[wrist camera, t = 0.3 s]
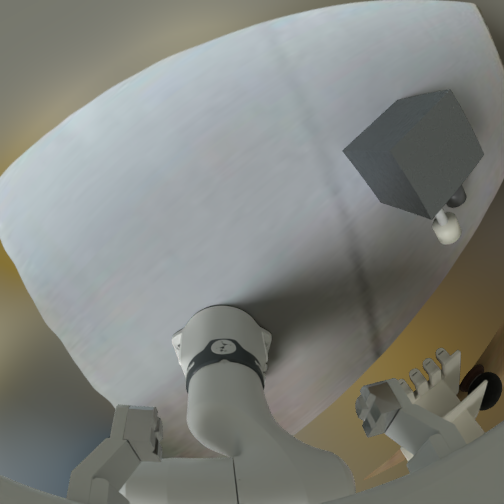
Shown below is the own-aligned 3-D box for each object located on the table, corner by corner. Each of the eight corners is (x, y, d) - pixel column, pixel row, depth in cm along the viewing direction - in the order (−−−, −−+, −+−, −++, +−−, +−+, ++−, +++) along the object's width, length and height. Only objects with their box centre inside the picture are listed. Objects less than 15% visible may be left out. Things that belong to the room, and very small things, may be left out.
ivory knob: (449, 222, 44) (466, 229, 40) (434, 240, 45) (450, 248, 40) (425, 178, 41) (443, 181, 37) (409, 196, 42) (426, 201, 37)
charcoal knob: (454, 190, 48) (470, 193, 43) (442, 205, 48) (458, 209, 44) (432, 148, 45) (449, 149, 40) (419, 163, 45) (435, 165, 41)
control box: (429, 150, 48) (484, 154, 34) (380, 202, 50) (431, 219, 36) (397, 100, 45) (450, 89, 31) (342, 150, 47) (389, 150, 33)
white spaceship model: (448, 338, 64) (525, 425, 33) (450, 382, 78) (502, 449, 48) (369, 398, 66) (431, 503, 35) (388, 428, 80) (432, 503, 49)
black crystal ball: (489, 363, 74) (513, 386, 59) (468, 393, 77) (490, 417, 62) (474, 360, 71) (501, 385, 56) (451, 392, 74) (475, 419, 59)
